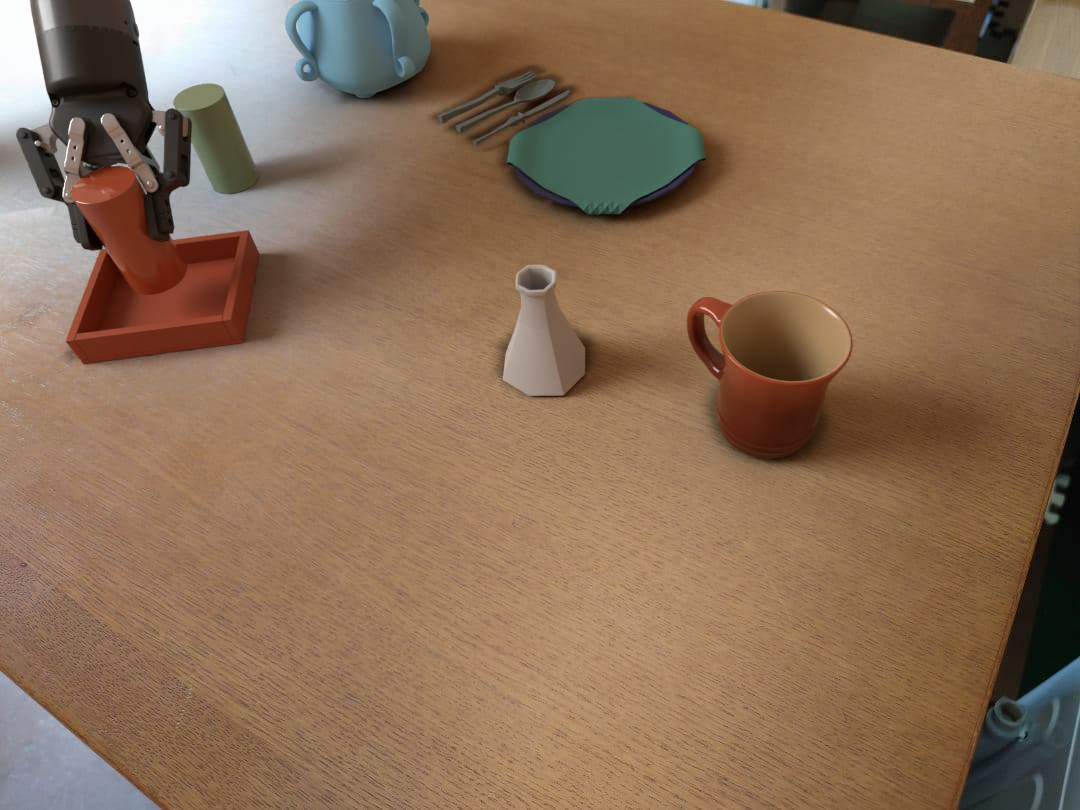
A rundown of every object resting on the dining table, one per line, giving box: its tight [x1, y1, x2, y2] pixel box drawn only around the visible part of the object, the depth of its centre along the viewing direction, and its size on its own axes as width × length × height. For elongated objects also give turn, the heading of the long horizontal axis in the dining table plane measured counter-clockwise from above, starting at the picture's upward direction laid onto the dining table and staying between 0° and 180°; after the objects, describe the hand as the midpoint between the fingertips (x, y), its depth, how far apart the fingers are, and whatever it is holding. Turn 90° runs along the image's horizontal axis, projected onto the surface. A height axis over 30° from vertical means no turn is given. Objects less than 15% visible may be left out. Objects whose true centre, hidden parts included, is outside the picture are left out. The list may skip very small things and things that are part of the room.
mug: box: [686, 290, 854, 460], centre depth 57 cm, size 12×9×10 cm
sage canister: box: [172, 82, 259, 195], centre depth 83 cm, size 5×5×10 cm
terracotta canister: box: [71, 165, 187, 295], centre depth 67 cm, size 5×5×10 cm
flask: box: [502, 264, 586, 397], centre depth 62 cm, size 7×7×10 cm
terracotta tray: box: [65, 229, 260, 365], centre depth 73 cm, size 15×13×3 cm
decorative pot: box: [284, 0, 432, 99], centre depth 95 cm, size 16×16×14 cm
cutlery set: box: [437, 70, 707, 216], centre depth 85 cm, size 20×30×2 cm, turn 41°
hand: (127, 244), depth 66 cm, fingers closed on terracotta canister, 5 cm apart
